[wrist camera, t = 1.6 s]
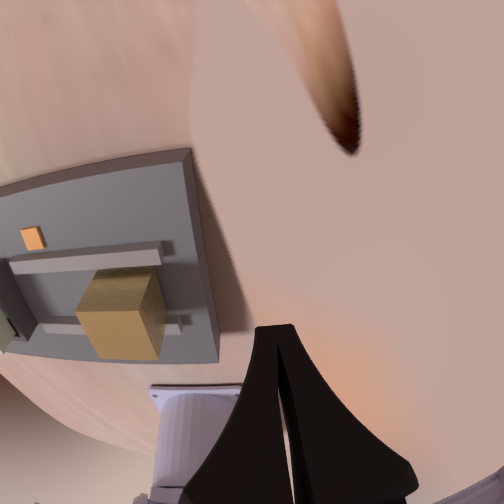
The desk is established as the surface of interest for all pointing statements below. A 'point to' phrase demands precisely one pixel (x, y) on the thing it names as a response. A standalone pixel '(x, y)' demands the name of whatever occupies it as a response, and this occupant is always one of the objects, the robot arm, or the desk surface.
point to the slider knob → (124, 313)
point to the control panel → (105, 253)
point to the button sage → (5, 333)
